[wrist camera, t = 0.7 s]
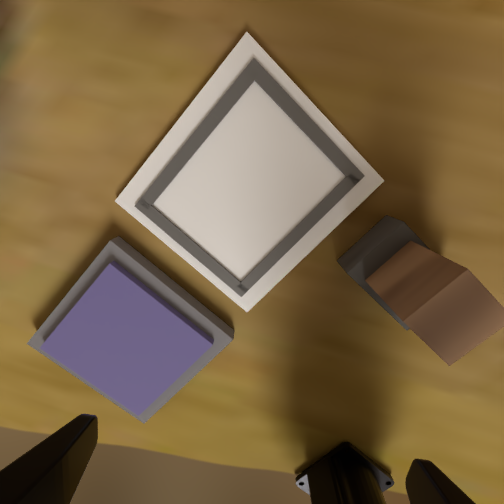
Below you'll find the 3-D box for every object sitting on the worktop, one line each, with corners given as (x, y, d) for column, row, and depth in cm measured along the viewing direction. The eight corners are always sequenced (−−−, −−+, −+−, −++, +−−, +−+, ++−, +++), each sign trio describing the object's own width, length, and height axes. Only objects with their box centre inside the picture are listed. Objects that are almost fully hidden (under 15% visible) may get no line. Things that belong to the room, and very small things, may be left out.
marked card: (381, 180, 19) (385, 181, 18) (247, 309, 22) (246, 313, 21) (246, 34, 17) (246, 29, 16) (117, 200, 20) (113, 201, 19)
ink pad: (234, 330, 22) (232, 344, 21) (149, 411, 25) (141, 430, 23) (118, 235, 20) (105, 242, 19) (38, 334, 23) (20, 348, 21)
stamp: (439, 271, 21) (537, 328, 13) (390, 312, 22) (456, 385, 14) (386, 214, 20) (460, 243, 12) (336, 260, 21) (378, 311, 13)
